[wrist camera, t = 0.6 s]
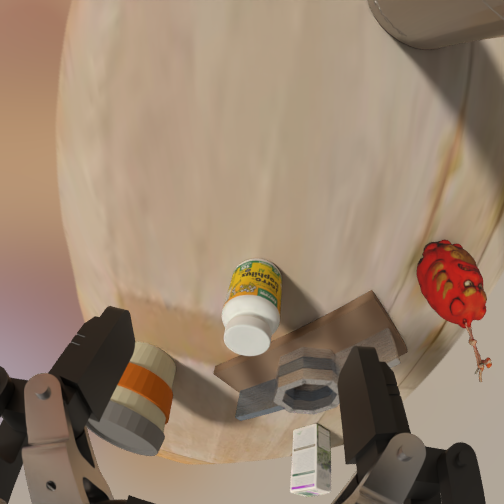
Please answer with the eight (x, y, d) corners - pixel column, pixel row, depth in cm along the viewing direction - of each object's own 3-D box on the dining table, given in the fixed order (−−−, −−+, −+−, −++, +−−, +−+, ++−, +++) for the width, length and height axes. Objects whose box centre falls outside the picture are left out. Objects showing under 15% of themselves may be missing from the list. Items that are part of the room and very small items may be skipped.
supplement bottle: (229, 289, 33) (210, 352, 25) (239, 250, 31) (220, 311, 22) (274, 301, 33) (267, 367, 25) (289, 264, 31) (286, 328, 22)
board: (371, 290, 31) (374, 298, 30) (405, 344, 35) (407, 351, 34) (215, 366, 41) (213, 373, 40) (264, 401, 45) (263, 409, 44)
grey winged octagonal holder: (376, 309, 30) (386, 341, 26) (400, 347, 33) (409, 376, 29) (223, 379, 40) (217, 406, 36) (259, 404, 43) (256, 429, 38)
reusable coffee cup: (169, 333, 39) (130, 423, 26) (197, 385, 45) (174, 462, 32) (104, 331, 41) (60, 403, 28) (136, 379, 47) (107, 445, 34)
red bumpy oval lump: (472, 243, 26) (541, 330, 13) (449, 291, 30) (497, 385, 17) (423, 230, 27) (492, 329, 14) (401, 284, 30) (443, 391, 17)
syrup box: (292, 429, 50) (287, 493, 37) (317, 422, 47) (316, 489, 35) (307, 437, 51) (304, 497, 39) (331, 430, 49) (332, 493, 37)
